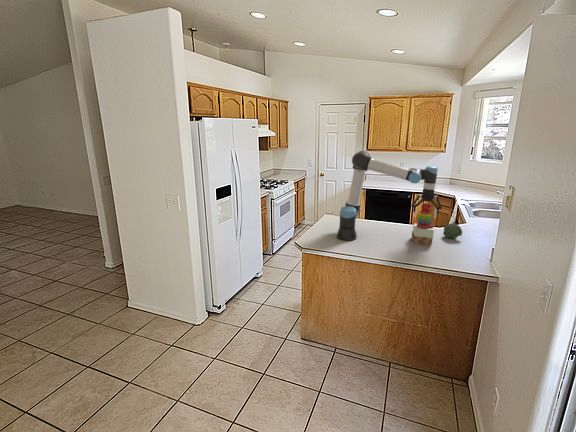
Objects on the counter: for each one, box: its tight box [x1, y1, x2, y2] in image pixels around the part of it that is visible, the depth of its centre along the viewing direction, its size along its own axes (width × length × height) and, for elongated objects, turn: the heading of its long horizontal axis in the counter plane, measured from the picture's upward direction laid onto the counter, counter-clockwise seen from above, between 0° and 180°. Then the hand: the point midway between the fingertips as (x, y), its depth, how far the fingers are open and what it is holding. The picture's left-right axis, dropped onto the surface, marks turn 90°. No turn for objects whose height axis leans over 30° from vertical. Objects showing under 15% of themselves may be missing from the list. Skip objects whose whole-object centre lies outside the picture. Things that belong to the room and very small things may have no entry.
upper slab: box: [412, 223, 435, 239], centre depth 230 cm, size 12×12×6 cm
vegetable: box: [443, 222, 463, 240], centre depth 239 cm, size 12×13×15 cm
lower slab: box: [411, 230, 433, 246], centre depth 232 cm, size 12×12×6 cm
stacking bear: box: [416, 202, 434, 229], centre depth 226 cm, size 11×10×18 cm
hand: (424, 217), depth 227 cm, fingers open, 13 cm apart
